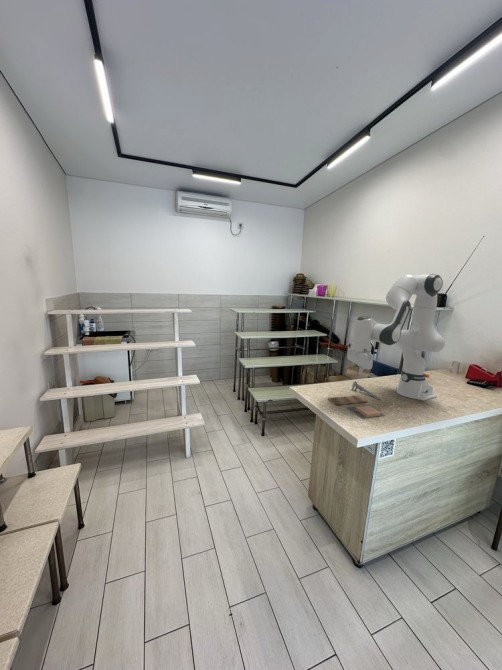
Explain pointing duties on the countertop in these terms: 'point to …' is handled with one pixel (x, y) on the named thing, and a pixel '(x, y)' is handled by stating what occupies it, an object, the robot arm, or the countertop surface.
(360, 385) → the caliper
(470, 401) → the countertop surface
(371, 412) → the tile
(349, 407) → the mat
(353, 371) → the scraper
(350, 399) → the board
